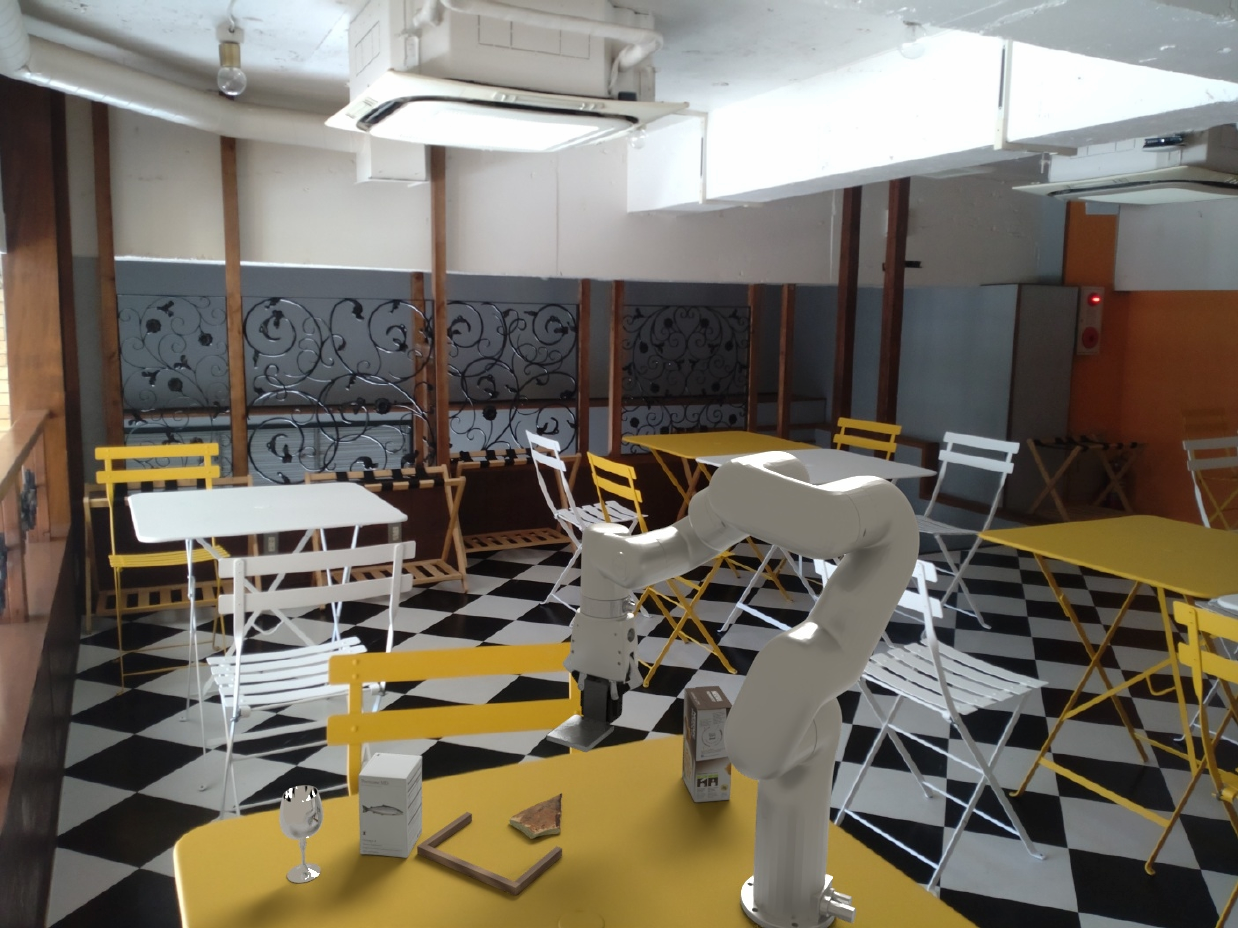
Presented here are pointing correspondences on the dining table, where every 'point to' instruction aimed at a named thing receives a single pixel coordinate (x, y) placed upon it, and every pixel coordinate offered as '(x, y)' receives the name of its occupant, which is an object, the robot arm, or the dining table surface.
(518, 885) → the frame
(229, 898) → the dining table surface
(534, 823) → the shard
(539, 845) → the dining table surface
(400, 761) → the supplement box
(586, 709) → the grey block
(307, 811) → the wineglass
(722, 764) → the coffee box
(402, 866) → the dining table surface
